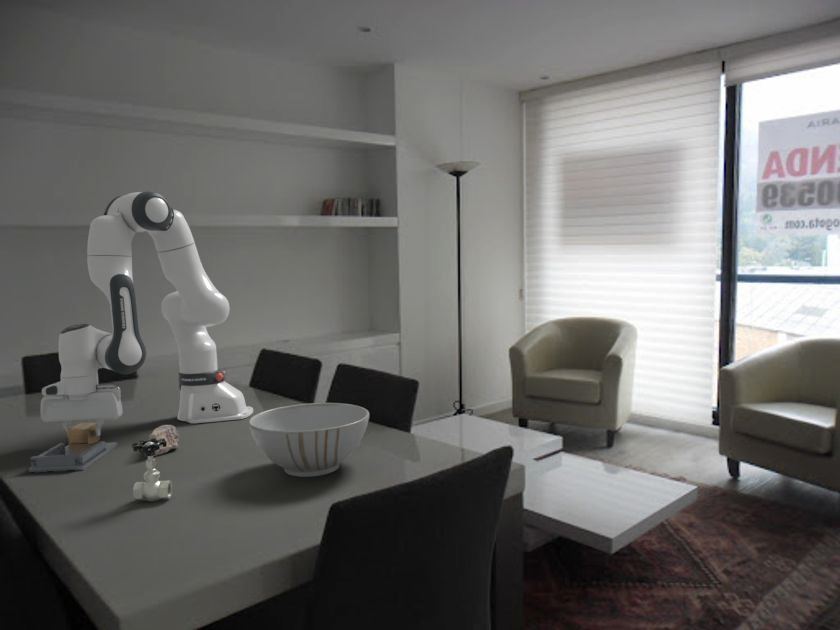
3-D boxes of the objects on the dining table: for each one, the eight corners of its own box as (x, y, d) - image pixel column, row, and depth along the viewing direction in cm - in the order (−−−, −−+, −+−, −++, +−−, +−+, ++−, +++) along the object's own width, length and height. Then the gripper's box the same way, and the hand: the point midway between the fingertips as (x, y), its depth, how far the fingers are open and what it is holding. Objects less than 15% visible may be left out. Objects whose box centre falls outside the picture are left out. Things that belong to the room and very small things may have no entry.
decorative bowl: (318, 496, 133) (315, 437, 132) (225, 477, 148) (222, 423, 147) (394, 459, 156) (392, 408, 155) (307, 445, 170) (304, 398, 169)
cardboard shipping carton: (99, 440, 183) (98, 422, 183) (88, 447, 176) (87, 428, 176) (81, 441, 183) (79, 423, 182) (69, 448, 176) (67, 429, 175)
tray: (117, 445, 176) (116, 432, 176) (83, 470, 156) (82, 455, 156) (69, 448, 175) (68, 435, 175) (29, 472, 155) (27, 458, 155)
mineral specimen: (177, 456, 165) (175, 431, 165) (146, 459, 163) (144, 434, 163) (181, 442, 177) (179, 419, 177) (152, 445, 176) (150, 422, 175)
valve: (141, 495, 137) (137, 438, 136) (174, 493, 138) (171, 436, 137) (130, 507, 131) (126, 447, 130) (165, 505, 131) (161, 445, 130)
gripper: (124, 381, 182) (128, 431, 183) (47, 385, 181) (51, 435, 182) (115, 386, 175) (119, 437, 177) (35, 389, 174) (39, 441, 176)
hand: (84, 436), depth 179 cm, fingers open, 5 cm apart
